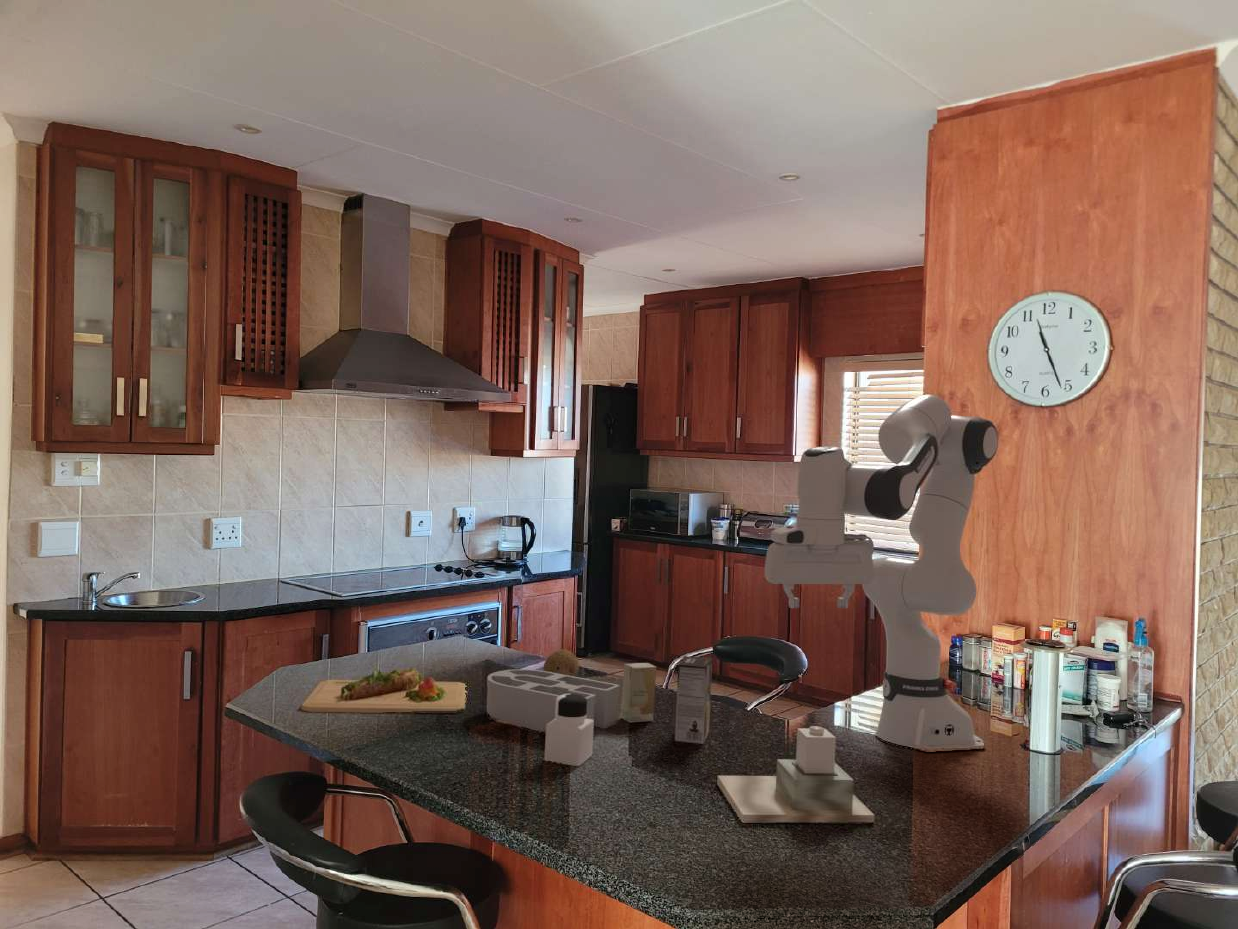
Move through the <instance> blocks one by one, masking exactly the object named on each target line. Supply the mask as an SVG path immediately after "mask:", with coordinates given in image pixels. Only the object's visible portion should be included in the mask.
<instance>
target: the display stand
mask: <svg viewBox="0 0 1238 929" xmlns="http://www.w3.org/2000/svg"><path fill="white" fill-rule="evenodd" d="M716 778H717V780H716V782H717V783H716V784H717V786H718V787H719V789H720V791H721V792H722V794H723V795H724V797H725V798H726V801H727V802H728V803H729V805H730V804H731V805H730V806H732V807H731V809H732V810H733V809H734V810H733V811H734V813H735V812H736V813H735V815H736V814H737V815H736V816H737V817H739V818H738V819H739V821H740V820H741V821H740V823H741V822H742V823H760V822H874V823H875V814H874V813H873V812H872V811H871V810H870V809H869V808H868V807H867V805H865V804H864V803H863V802H862V801H861V800H859V798H858V797H857V796H856V795H855V794H854V784H855V782H854V781H855V780H854V779H853V778H852V777H851V776H850V774H848V773H847V772H846V771H845V770H844V769H842V768H841V766H839V765H838V764H837V762H835V764H834V773H805V772H804V771H803V770H802V769H801V768H800V767H799V766H798V765H797V764H796V759H787V758H785V759H783V758H782V759H780V758H778V759H776V775H717V777H716ZM742 823H741V824H742Z"/></svg>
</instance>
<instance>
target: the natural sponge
mask: <svg viewBox="0 0 1238 929" xmlns="http://www.w3.org/2000/svg"><path fill="white" fill-rule="evenodd" d="M579 669H580V663H579V660H578V658H577V657H576V655H575V653H573V652H572V651H570V650H567V649H556V650H555V651H553V652H552V653H550V654H549V655H548V656H547V658H546V659H545V661H544V663H543V669H542V671H547V672H552V673H558V674H563V675H569V676H574V677H578V676H577V675H578V674H579Z"/></svg>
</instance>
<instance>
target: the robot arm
mask: <svg viewBox="0 0 1238 929" xmlns="http://www.w3.org/2000/svg"><path fill="white" fill-rule="evenodd" d="M877 439H878V444H879V447H880V449H881V451H882V453H883V454H884V455H885V457H886V458H887V459H888V460H889V461H890V462H891V463H894V464H893V465H867V464H866V465H864V464H863V465H861V464H853V463H852V462H850V461H849V460H847V459H846V458H845V453H844V450H843V449H842V448H841V447H838V446H817V447H811V448H808V449H807V450H804V451H803V453H802V455H801V458H800V461H799V466H798V474H797V488H796V489H797V499H798V508H797V509H798V510H797V513H796V522H794V523H792V524H788V525H784V526H782V527H778V528H776V529H773V530H771V532H770V538H771V540H772V541H773V542H772V543H770V545H769V546H768V548H767V551H766V554H765V560H764V561H765V563H764V578H765V579H766V581H767V582H769V583H771V584H774V585H779V584H782V589H783V591H784V593H785V594H786V595H787V598H788V608H790V609H799V608H800V598H798V597H795V595H794V593H793V592H792V591H793V590H794V589H795V585H842V586H843V589H845V590H844V592H843V593H842V595H841V596H840V597H839V596H837V599H836V601H837V603H836V605H837V606H836V607H837V608H839V609H849V608H848V607H849V599H851V598H850V597H851V596H852V594H854V592H855V586H856V585H861V586H862V587H861V588H862V590H863V591H864V595H865V596H866V597H867V598H868V599H869V600H870V601H871V602H872V604H873V605H874V606H875V608H876V610H877V611H878V614H879V616H880V618H881V621H882V623H883V627H884V631H885V638H886V639H885V640H886V662H885V663H886V666H885V670H884V671H883V681H882V697H883V700H882V702H883V703H882V708H881V713H880V717H879V721H878V724H877V728H876V731H875V733H874V735H875V734H876V735H875V737H876V736H878V737H879V738H881V739H883V740H885V741H888V742H893V743H896V744H901V745H906V746H913V747H916V748H922V749H927V750H930V749H941V748H970V747H978V746H984V743H985V742H984V740H983V739H981V738H980V737H979V736H978V735H977V734H975V730H974V723H973V719H972V717H971V715H970V714H969V713H968V712H967V711H966V710H965V709H964V708H962V706H961V705H959V704H958V703H957V701H955V700H954V699H952V697H951V696H949V695H948V694H947V690H948V691H950V692H955V691H956V689H957V688H958V687H957V684H956V683H955V682H954V681H952V680H950V679H948V680H947V679H945V678H943V677H942V676H940V675H941V674H940V672H941V670H940V668H941V653H942V652H941V648H942V647H941V646H942V645H941V641H940V639H939V637H938V635H937V634H936V633H935V632H933V631H932V630H931V629H930V628H929V627H928V626H927V625H926V623H925V622H924V619H923V617H922V613H927V614H933V615H938V616H956V615H958V616H959V615H964V614H966V613H967V612H968V611H969V610H970V609H971V608H972V606H973V604H974V603H975V600H976V598H977V585H976V584H977V583H976V581H975V579H974V577H973V575H972V574H971V572H970V571H969V570H968V569H967V568H966V566H965V564H964V562H963V560H962V559H963V558H962V555H961V541H962V537H963V532H964V529H965V525H966V522H967V519H968V516H969V512H970V509H971V505H972V502H973V496H974V490H975V482H976V480H975V479H976V478H975V477H976V476H975V475H976V474H979V473H980V472H981V471H982V470H983V468H984V467H987V465H988V464H989V463H990V462H992V460H993V459H994V457H995V456H996V453H997V450H998V447H999V446H998V445H999V435H998V430H997V428H996V426H995V424H994V423H993V422H992V421H990V419H989V420H988V419H986V418H983V417H978V416H973V417H971V416H966V415H965V416H963V415H956V414H952V411H951V408H950V406H949V404H948V403H947V402H946V401H945V399H943V398H941V397H940V396H937V395H935V394H923V395H919V396H916V397H915V398H912V399H911V400H908V401H907V402H905V403H903V404H902V405H901V406H899V407H898V408H897V409H896V410H894V411H893V412H892V413H891V414H890V415H889V416H888V417H886V419H884V421H883V422H882V424H881V425H880V427H879V429H878V438H877ZM922 485H923V486H922ZM921 486H922V488H921ZM920 488H921V489H920ZM919 490H920V493H919V494H918V495H919V496H918V498H917V500H916V504H915V507H914V510H913V514H912V516H911V518H910V521H909V524H908V528H909V534H910V536H911V538H912V539H913V540H914V541H915V543H916V544H917V545H918V546H920V547H922V548H921V549H922V551H921V556H920V558H919V559H912V558H905V557H896V556H888V557H886V556H884V557H879V558H873V554H874V540H872V538H871V537H869V536H868V535H867V534H865V533H864V534H863V533H859V534H856V533H855V534H853V533H845V532H846V531H845V530H846V515H851V516H860V517H863V516H864V517H872V518H873V517H874V518H877V519H884V520H890V521H897V520H900V519H901V518H903V516H905V515H906V514H907V513H908V512H910V510H911V508H912V507H913V505H914V502H915V499H916V496H917V493H918V492H919ZM878 737H877V738H878ZM879 738H878V739H879ZM881 739H880V740H881ZM883 740H882V741H883ZM885 741H884V742H885ZM977 741H980V742H977ZM888 742H887V743H888ZM983 742H984V743H983Z"/></svg>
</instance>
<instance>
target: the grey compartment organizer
mask: <svg viewBox="0 0 1238 929" xmlns="http://www.w3.org/2000/svg"><path fill="white" fill-rule="evenodd" d="M486 680H487V681H486V682H487V683H486V687H487V694H486V695H487V696H486V713H487V715H488V714H489V715H490V716H491V717H492V718H496V719H500V720H502V721H505V722H509V723H511V724H517V725H520V726H523V727H526V728H530V729H533V730H540V731H545V732H546V725H547V723H549V722H551V721H552V720H554V719H555V703H556V698H557V697H558V696H560V695H563V694H578V695H581V696H583V697H585V698H586V699H587V715H586V719H592V720H594V726H596V727H595V728H597V727H600V728H599V729H602V728H603V729H602V730H606V729H607V728H610V727H612V726H614V725H616V724H617V722H618V719H619V701H620V699H619V698H620V694H621V684H617V683H610V682H606V681H599V680H595V679H589V678H583V677H578V676H576V677H574V676H569V675H563V674H558V673H552V672H547V671H543V670H539V669H530V668H529V669H527V668H525V669H523V668H522V669H521V668H520V669H519V668H518V669H505V670H504V669H503V670H499V671H496V672H495V671H494V672H492V673H489V674H488V676H487V679H486ZM611 725H612V726H611ZM609 726H610V727H609ZM605 728H606V729H605Z"/></svg>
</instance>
